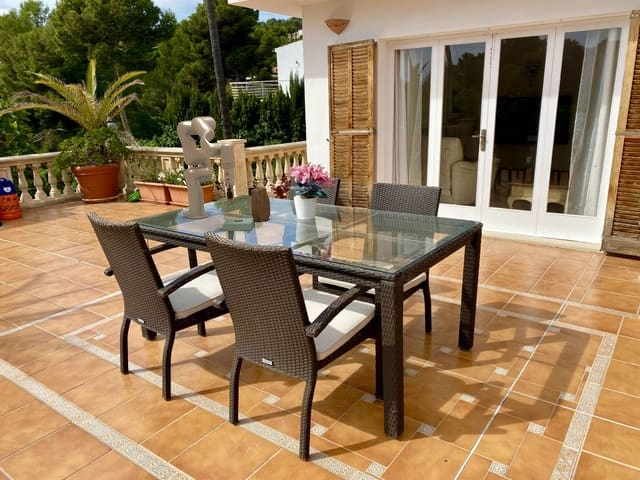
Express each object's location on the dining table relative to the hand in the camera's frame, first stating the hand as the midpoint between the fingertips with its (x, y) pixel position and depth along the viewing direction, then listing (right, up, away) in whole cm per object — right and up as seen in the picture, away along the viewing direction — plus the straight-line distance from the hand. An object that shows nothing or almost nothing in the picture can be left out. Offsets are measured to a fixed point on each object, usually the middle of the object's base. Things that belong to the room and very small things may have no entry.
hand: (230, 197), depth 282 cm
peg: (0, -3, +1) cm, 3 cm away
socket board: (+4, -17, +5) cm, 18 cm away
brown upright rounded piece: (+15, -12, +23) cm, 30 cm away
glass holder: (+10, -4, +51) cm, 53 cm away
